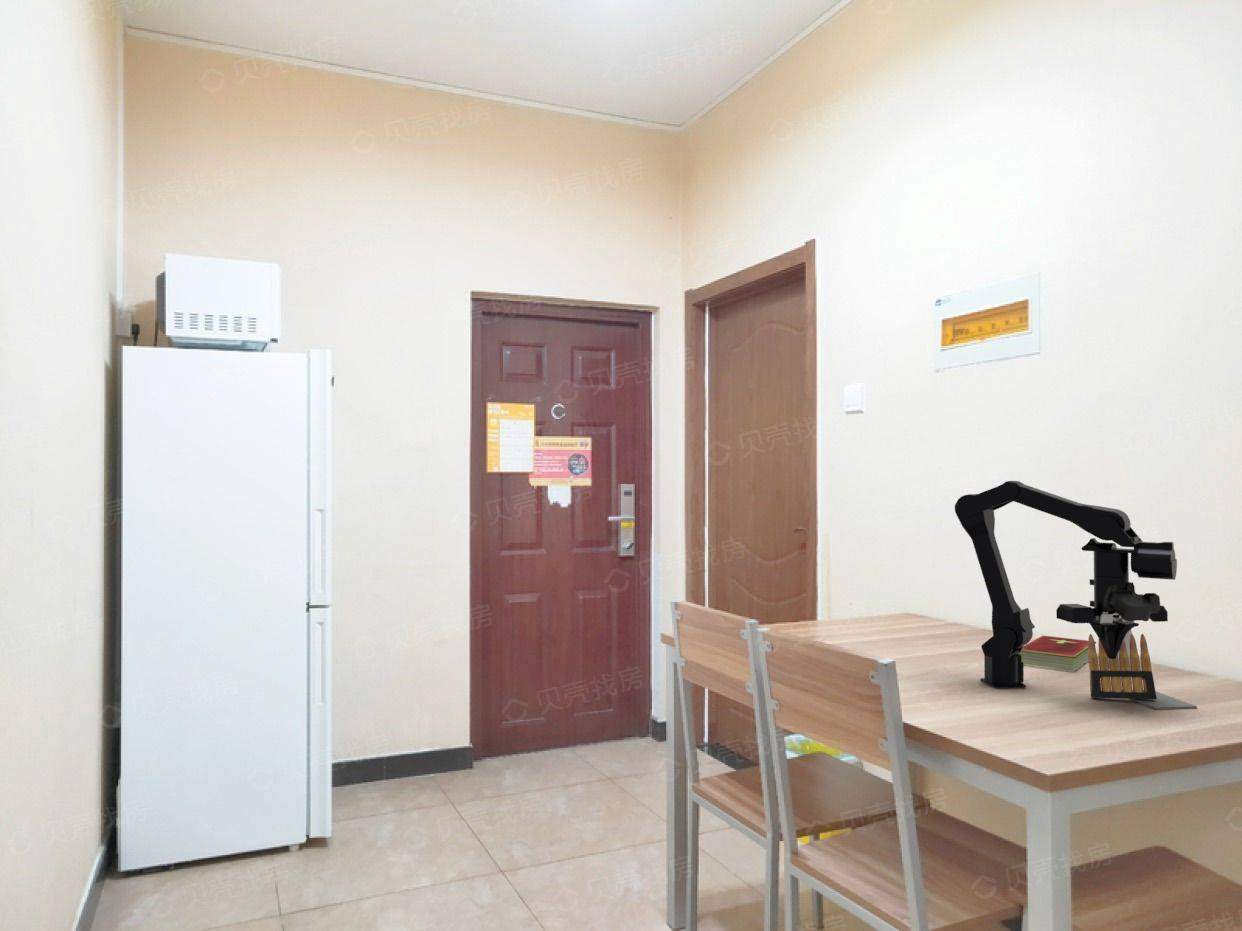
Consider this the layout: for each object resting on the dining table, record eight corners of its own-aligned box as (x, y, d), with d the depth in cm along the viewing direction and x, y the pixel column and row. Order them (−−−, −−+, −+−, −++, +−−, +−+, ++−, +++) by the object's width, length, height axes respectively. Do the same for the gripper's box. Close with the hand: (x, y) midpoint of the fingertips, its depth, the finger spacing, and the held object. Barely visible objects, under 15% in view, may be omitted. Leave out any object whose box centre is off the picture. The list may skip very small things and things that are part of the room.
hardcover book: (1015, 666, 192) (1015, 647, 192) (1040, 651, 208) (1040, 634, 208) (1074, 675, 185) (1074, 655, 185) (1096, 658, 201) (1096, 640, 201)
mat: (1155, 709, 156) (1155, 707, 156) (1112, 692, 168) (1112, 690, 168) (1197, 708, 157) (1197, 706, 157) (1150, 691, 169) (1150, 689, 169)
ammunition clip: (1092, 698, 163) (1085, 633, 165) (1090, 697, 165) (1084, 633, 167) (1157, 699, 160) (1149, 633, 162) (1154, 698, 161) (1146, 633, 164)
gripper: (1091, 582, 153) (1091, 669, 153) (1189, 580, 155) (1190, 667, 155) (1054, 574, 164) (1055, 656, 164) (1146, 573, 166) (1147, 654, 166)
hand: (1111, 658), depth 162 cm, fingers closed
